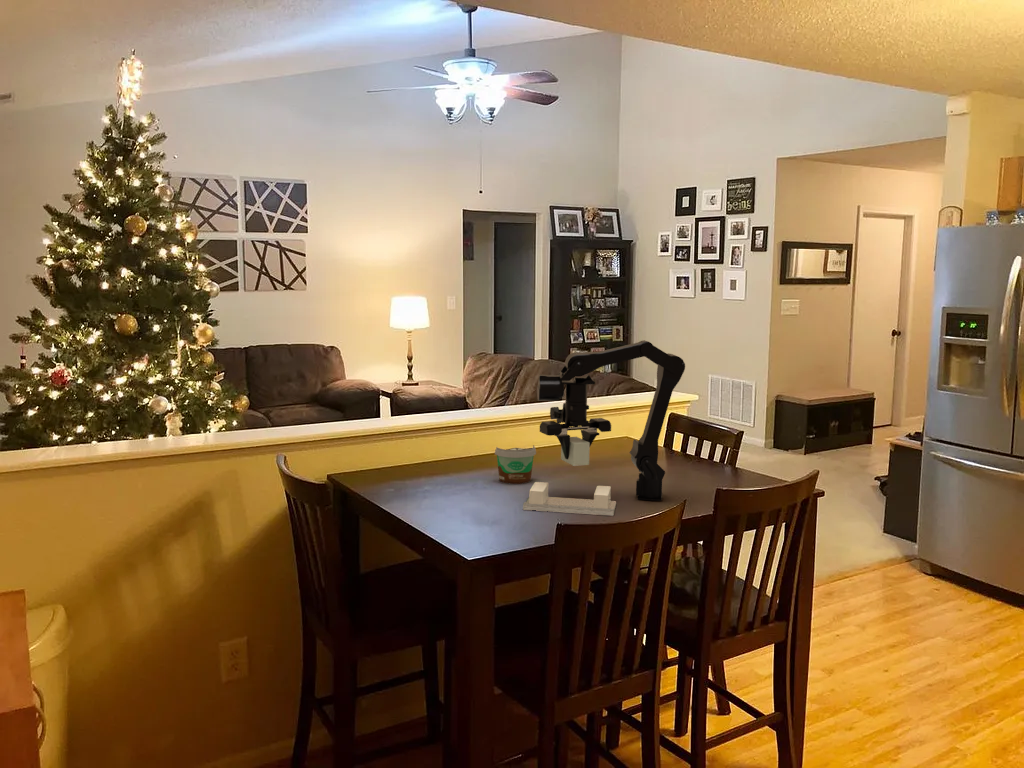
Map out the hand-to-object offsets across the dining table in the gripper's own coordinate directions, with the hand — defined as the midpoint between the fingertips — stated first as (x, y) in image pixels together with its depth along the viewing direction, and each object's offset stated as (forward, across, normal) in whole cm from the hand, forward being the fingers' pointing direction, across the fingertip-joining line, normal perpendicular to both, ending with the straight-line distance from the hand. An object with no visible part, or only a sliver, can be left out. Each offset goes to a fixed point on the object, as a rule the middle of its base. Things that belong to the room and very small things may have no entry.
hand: (574, 458), depth 223 cm
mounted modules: (+11, +5, +7) cm, 14 cm away
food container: (+11, +8, -21) cm, 25 cm away
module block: (+1, 0, 0) cm, 1 cm away
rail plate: (+11, +5, +7) cm, 14 cm away
